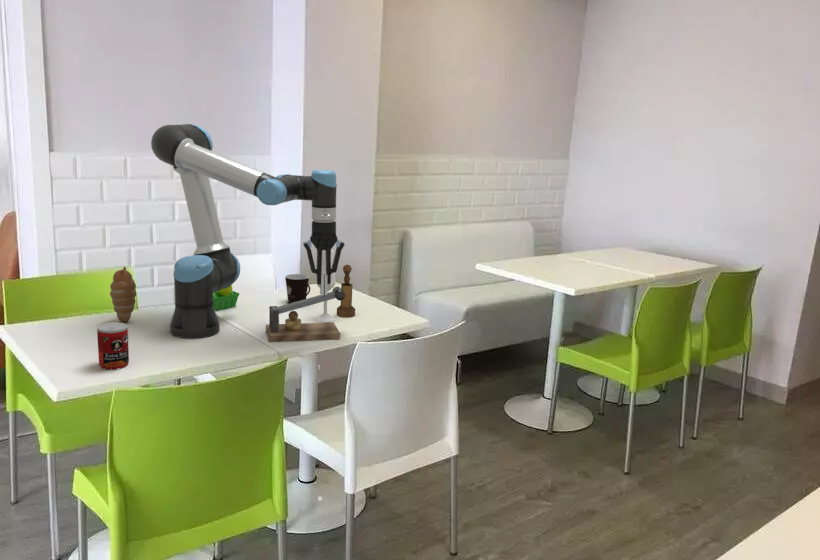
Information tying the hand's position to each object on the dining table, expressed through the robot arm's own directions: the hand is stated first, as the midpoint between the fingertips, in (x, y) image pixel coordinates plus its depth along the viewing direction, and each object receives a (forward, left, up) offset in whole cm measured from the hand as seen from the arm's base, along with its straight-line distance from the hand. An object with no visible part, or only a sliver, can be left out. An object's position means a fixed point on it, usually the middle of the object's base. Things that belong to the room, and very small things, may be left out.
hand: (323, 294), depth 231 cm
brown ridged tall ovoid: (-61, +21, -14) cm, 66 cm away
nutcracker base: (-6, 0, -13) cm, 15 cm away
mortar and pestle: (+12, +21, -14) cm, 28 cm away
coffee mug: (-3, +37, -14) cm, 40 cm away
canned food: (-60, -20, -14) cm, 65 cm away
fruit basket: (-30, +35, -14) cm, 48 cm away
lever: (-5, 0, -4) cm, 6 cm away
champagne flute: (+4, +17, -14) cm, 22 cm away
